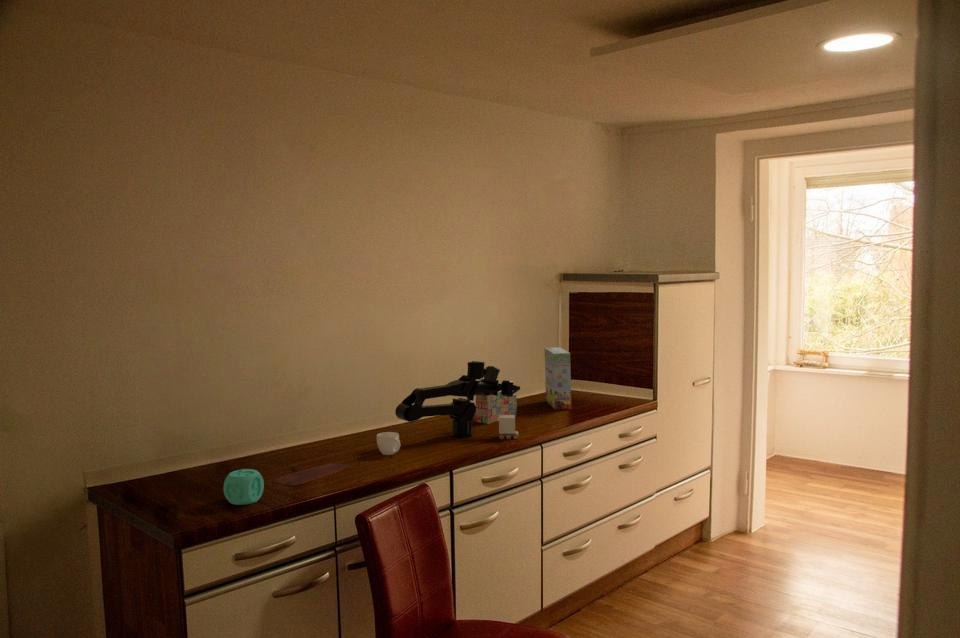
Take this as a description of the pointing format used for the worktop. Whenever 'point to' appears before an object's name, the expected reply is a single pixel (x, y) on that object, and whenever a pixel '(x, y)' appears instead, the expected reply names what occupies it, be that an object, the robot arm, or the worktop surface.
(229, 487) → the decorative dice
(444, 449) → the worktop surface
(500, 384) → the robot arm
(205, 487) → the worktop surface
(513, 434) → the roller
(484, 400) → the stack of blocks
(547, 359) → the snack box
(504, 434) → the roller
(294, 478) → the wooden tablet
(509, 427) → the slab
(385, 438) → the cup
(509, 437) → the cylinder
